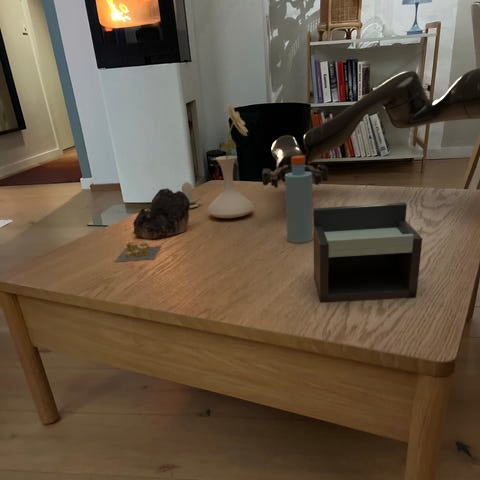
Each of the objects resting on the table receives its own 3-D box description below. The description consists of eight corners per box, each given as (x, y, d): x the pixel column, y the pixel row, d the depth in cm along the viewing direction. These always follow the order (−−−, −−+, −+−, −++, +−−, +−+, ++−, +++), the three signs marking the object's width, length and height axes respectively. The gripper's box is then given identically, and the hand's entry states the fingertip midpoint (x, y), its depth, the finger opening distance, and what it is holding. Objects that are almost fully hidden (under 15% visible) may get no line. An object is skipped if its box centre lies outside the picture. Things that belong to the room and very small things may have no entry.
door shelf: (320, 302, 71) (320, 227, 65) (313, 276, 79) (313, 208, 74) (416, 297, 70) (424, 220, 64) (399, 271, 78) (404, 202, 73)
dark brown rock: (122, 242, 107) (115, 199, 101) (147, 220, 118) (141, 180, 112) (178, 247, 104) (173, 203, 98) (198, 224, 115) (195, 183, 109)
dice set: (128, 250, 100) (126, 241, 99) (152, 248, 99) (150, 239, 98) (122, 258, 95) (120, 249, 94) (147, 257, 95) (145, 248, 94)
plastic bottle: (311, 234, 99) (310, 153, 92) (313, 242, 95) (313, 157, 87) (286, 235, 100) (283, 155, 92) (287, 243, 95) (284, 160, 88)
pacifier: (196, 210, 125) (204, 203, 130) (193, 186, 122) (201, 180, 127) (171, 210, 127) (179, 203, 132) (167, 186, 124) (176, 181, 129)
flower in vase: (238, 224, 110) (229, 106, 99) (199, 220, 116) (185, 108, 104) (266, 209, 120) (260, 100, 108) (228, 206, 125) (219, 103, 114)
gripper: (261, 153, 112) (261, 165, 98) (322, 148, 111) (331, 160, 97) (263, 185, 116) (263, 201, 101) (322, 181, 115) (330, 197, 100)
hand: (296, 181), depth 99 cm, fingers open, 8 cm apart
